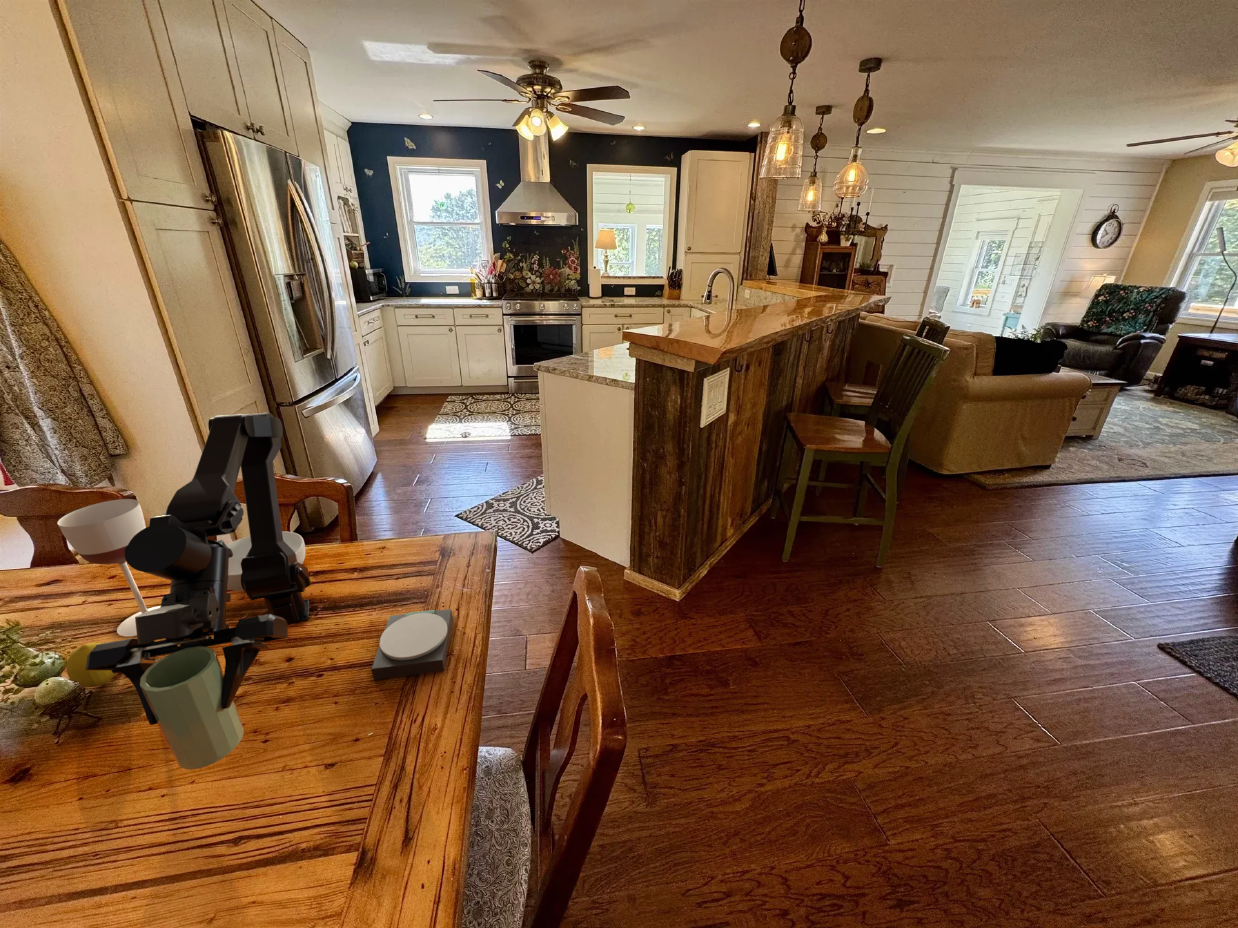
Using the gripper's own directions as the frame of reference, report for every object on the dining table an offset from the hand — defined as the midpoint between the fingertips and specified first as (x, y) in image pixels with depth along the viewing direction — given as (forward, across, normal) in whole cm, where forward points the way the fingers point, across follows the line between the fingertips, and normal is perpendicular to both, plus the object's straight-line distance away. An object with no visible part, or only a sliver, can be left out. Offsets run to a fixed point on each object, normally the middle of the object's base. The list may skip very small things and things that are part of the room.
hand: (190, 716), depth 59 cm
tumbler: (+4, 0, +6) cm, 7 cm away
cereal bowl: (-26, -8, +44) cm, 52 cm away
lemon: (-9, -24, +27) cm, 37 cm away
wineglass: (-20, -25, +38) cm, 50 cm away
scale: (-4, +23, +22) cm, 32 cm away
